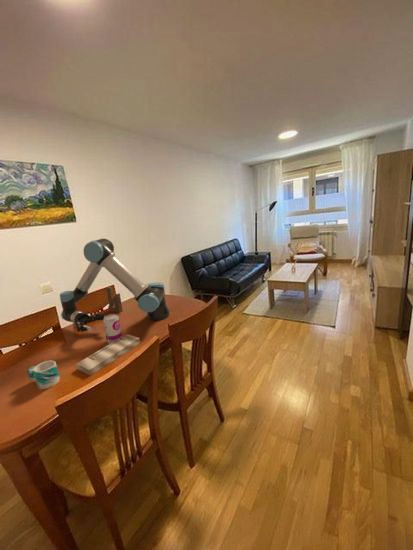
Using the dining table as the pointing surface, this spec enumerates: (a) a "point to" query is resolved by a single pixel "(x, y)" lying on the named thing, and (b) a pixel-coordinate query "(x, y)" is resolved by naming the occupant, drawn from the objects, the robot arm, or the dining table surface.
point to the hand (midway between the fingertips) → (102, 324)
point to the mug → (44, 374)
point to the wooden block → (114, 301)
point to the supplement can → (112, 328)
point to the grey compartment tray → (107, 354)
